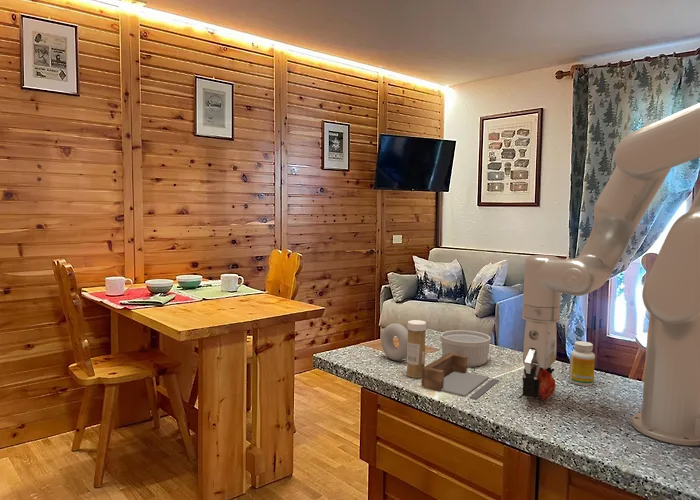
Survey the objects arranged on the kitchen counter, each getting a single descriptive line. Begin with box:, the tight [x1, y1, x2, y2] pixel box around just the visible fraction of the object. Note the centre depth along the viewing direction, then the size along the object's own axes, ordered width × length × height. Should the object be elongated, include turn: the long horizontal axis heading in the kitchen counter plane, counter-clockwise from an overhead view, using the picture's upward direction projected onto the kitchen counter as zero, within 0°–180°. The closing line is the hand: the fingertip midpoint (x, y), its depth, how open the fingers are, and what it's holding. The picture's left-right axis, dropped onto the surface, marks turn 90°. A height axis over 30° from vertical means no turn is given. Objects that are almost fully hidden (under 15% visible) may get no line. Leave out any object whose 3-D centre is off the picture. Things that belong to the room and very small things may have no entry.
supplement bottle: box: [568, 340, 596, 387], centre depth 124 cm, size 5×5×10 cm
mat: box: [440, 371, 490, 398], centre depth 122 cm, size 8×15×1 cm, turn 146°
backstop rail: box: [421, 353, 468, 392], centre depth 124 cm, size 5×16×4 cm, turn 146°
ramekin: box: [440, 329, 492, 368], centre depth 139 cm, size 13×13×7 cm
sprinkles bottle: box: [405, 319, 427, 379], centre depth 126 cm, size 5×5×13 cm
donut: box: [380, 322, 408, 362], centre depth 138 cm, size 10×4×10 cm, turn 43°
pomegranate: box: [518, 368, 557, 401], centre depth 113 cm, size 7×7×10 cm
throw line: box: [469, 378, 500, 400], centre depth 118 cm, size 2×15×1 cm, turn 146°
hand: (536, 389), depth 113 cm, fingers open, 9 cm apart
